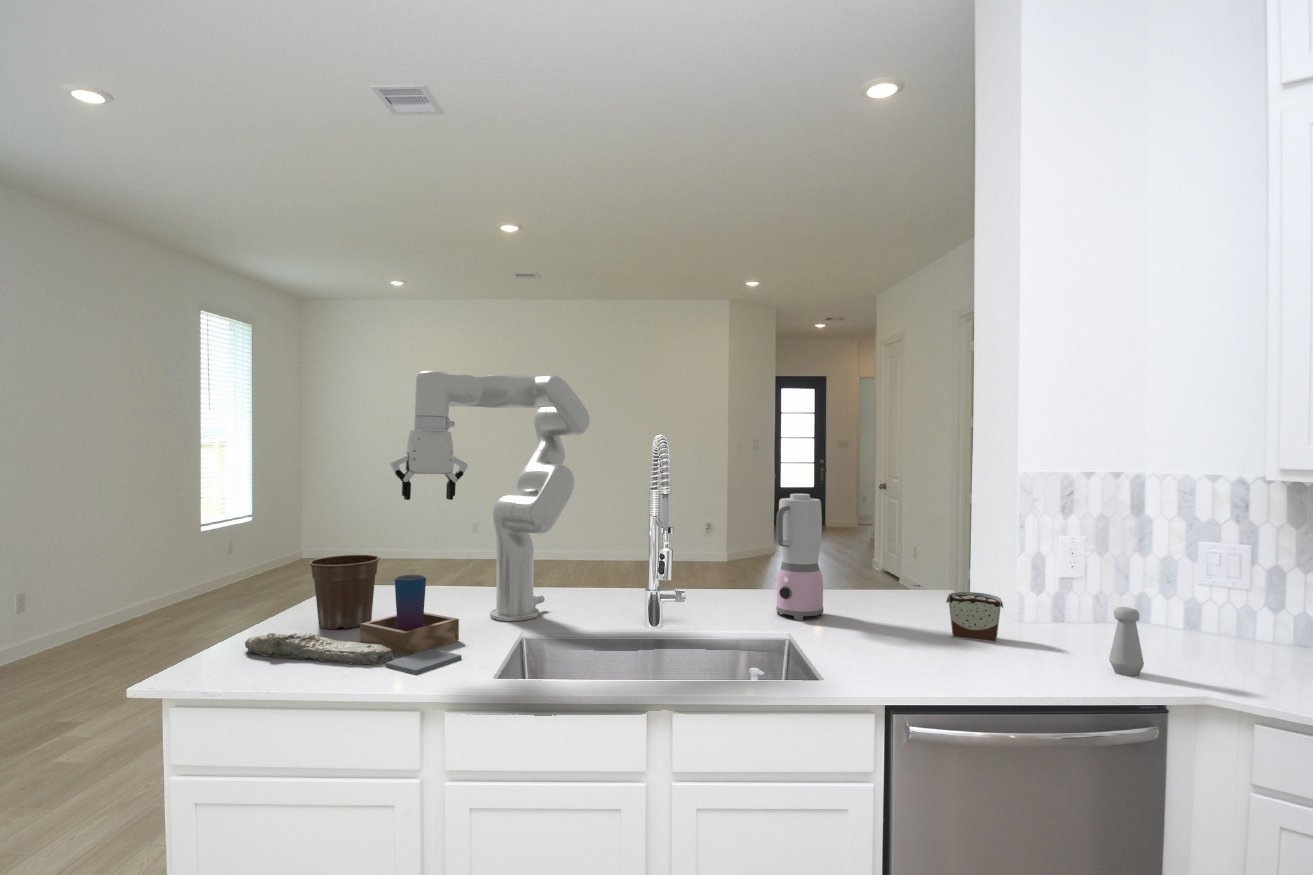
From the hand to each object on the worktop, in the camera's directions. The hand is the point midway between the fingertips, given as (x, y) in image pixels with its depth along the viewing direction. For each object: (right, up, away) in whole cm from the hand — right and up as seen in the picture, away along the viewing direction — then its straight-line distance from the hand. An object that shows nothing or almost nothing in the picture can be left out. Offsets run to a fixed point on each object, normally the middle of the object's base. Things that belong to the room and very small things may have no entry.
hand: (428, 499), depth 168 cm
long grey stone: (-20, -33, -12) cm, 40 cm away
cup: (-3, -33, -3) cm, 33 cm away
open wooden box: (-3, -32, -3) cm, 33 cm away
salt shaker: (+146, -33, -22) cm, 152 cm away
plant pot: (-25, -33, +14) cm, 44 cm away
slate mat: (+4, -32, -17) cm, 37 cm away
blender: (+89, -33, +24) cm, 98 cm away
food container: (+128, -33, +5) cm, 132 cm away
